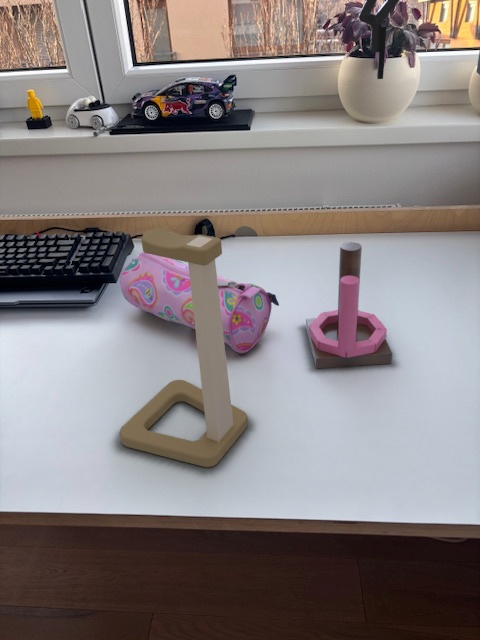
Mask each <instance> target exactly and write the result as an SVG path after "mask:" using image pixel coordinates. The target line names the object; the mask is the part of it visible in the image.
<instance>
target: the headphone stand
mask: <svg viewBox="0 0 480 640" xmlns="http://www.w3.org/2000/svg"><path fill="white" fill-rule="evenodd" d="M140 241H141V246H142V247H141V248H142V252H144V253H147V254H152V255H156V256H161V257H166V258H170V259H175V260H179V261H181V262H183V263H187V264H188V265H187V266H189V275H190V284H191V293H192V302H193V312H194V321H195V329H194V330H195V338H196V347H197V357H198V364H199V365H198V366H199V374H200V375H199V376H200V383H201V388H200V387H198V386H196V385H195V384H193V383H191V382H189V381H187V380H185V379H175V380H171V381H170V382H169V383H168V384H166V385H165V386H164V387H163V388H162V389H161V390H160V391H159V392H158V393H157V394H156V395H154V396H153V397H152V398H151V399H150V400H149V401H148V402H147V403H146V404H145V405H144V406H143V407H142V408H141V409H139V410H138V411H137V412H136V413H135V414H134V415H133V416H132V417H131V418H129V420H127V422H126V423H124V424H123V425H122V426H121V428H120V429H119V437H120V442H121V444H122V445H123V446H125V447H127V448H131V449H135V450H138V451H141V452H146V453H149V454H153V455H158V456H160V457H165V458H169V459H173V460H175V461H181V462H183V463H188V464H191V465H196V466H200V467H204V468H211V467H214V466H216V465H217V464H218V463H219V462H220V461H221V460H222V459H223V457H224V456H225V455H226V454H227V453H228V451H229V450H230V449H231V448H232V446H233V445H234V444H235V443H236V441H237V440H238V439H239V438H240V437H241V435H242V434H243V432H245V430H246V429H247V428H248V426H249V425H248V424H249V421H248V414H247V413H246V412H245V411H244V410H243V409H240V408H238V407H237V406H235V405H233V404H232V398H231V389H230V382H229V371H228V363H227V356H226V346H225V345H226V344H225V342H224V336H223V327H222V318H221V309H220V300H219V291H218V282H217V276H218V274H217V273H218V272H217V267H216V265H217V264H216V259H217V258H219V257H220V256H222V254H223V246H222V239H221V238H220V237H215V236H210V235H206V234H195V235H185V234H180V233H179V234H178V233H175V232H171V231H169V230H167V229H164V228H162V227H159V228H153V229H150V230H149V229H148V230H144V232H143V234H142V236H141V239H140ZM179 402H185V403H186V404H188V405H190V406H192V407H194V408H195V409H197V410H199V411H201V412H203V413H204V421H205V429H206V430H205V433H204V434H202V435H201V437H200V438H199V439H197V440H188V439H185V438H180V437H176V436H172V435H168V434H164V433H160V432H155V431H151V430H149V429H150V428H151V427H152V426H153V425H154V424H156V422H157V421H158V420H159V419H160V418H161V417H162V416H163V415H164V414H165V413H166V412H167V411H168V410H169V409H170V408H171V407H173V405H175V404H176V403H179Z"/></svg>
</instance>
